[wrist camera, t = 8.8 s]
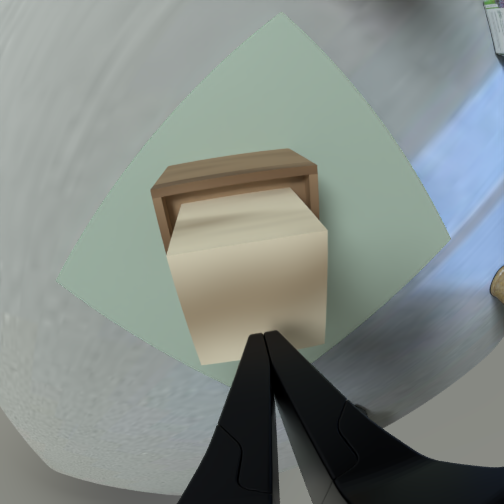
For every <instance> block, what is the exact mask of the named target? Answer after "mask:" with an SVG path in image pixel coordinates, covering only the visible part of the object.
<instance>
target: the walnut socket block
mask: <svg viewBox="0 0 504 504" xmlns="http://www.w3.org/2000/svg"><path fill="white" fill-rule="evenodd" d="M289 187H290V188H291V189H292V190H293V191H294V192H295V193H296V195H297V196H298V197H299V198H300V199H301V200H302V201H303V202H304V204H305V205H306V206H307V207H308V208H309V209H310V210H311V212H312V213H313V214H314V215H315V216H316V217H317V218H318V220H319V190H318V169H317V165H316V164H315V163H313V162H311V161H310V160H308V159H306V158H305V157H303V156H301V155H300V154H298V153H296V152H294V151H293V150H291V149H289V148H285V149H276V150H267V151H259V152H251V153H243V154H236V155H229V156H223V157H216V158H210V159H204V160H198V161H192V162H187V163H182V164H176V165H171V166H168V167H167V168H166V169H165V171H164V172H163V173H162V175H161V176H160V177H159V179H158V180H157V181H156V183H155V184H154V185H153V187H152V188H151V190H150V192H151V196H152V200H153V205H154V209H155V213H156V217H157V221H158V225H159V229H160V233H161V237H162V241H163V244H164V248H165V252H166V255H167V251H168V248H169V244H170V241H171V237H172V234H173V231H174V227H175V224H176V220H177V217H178V214H179V211H180V207H181V204H185V203H191V202H196V201H202V200H208V199H214V198H220V197H226V196H232V195H239V194H245V193H252V192H259V191H266V190H273V189H281V188H289Z"/></svg>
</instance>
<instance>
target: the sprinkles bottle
mask: <svg viewBox="0 0 504 504" xmlns="http://www.w3.org/2000/svg"><path fill="white" fill-rule="evenodd" d="M491 294H492V295H493V296H495V297H497V298H498V299H499V300H500V301H501V302H502V303H503V304H504V266H503V267H502V268H501V269H500V270H499V271H498V272H497V273H496V275H495V277H494V279H493V281H492V284H491Z"/></svg>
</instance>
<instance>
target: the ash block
mask: <svg viewBox="0 0 504 504" xmlns="http://www.w3.org/2000/svg"><path fill="white" fill-rule="evenodd" d="M166 257H167V261H168V264H169V268H170V271H171V275H172V278H173V281H174V285H175V288H176V291H177V295H178V298H179V301H180V304H181V307H182V310H183V313H184V317H185V320H186V323H187V326H188V329H189V332H190V334H191V337H192V340H193V343H194V346H195V349H196V352H197V354H198V357H199V360H200V363H201V365H208V364H216V363H223V362H230V361H237V360H241V357H242V354H243V351H244V348H245V345H246V342H247V339H248V337H249V335H250V334H255V333H263V335H264V332H267V331H273V330H277V331H279V332H280V333H281V334H282V335H283V336H284V337H285V338H286V339H287V340H288V341H289V342H290V343H291V344H292V345H293V346H294V347H295V348H296V349H297V350H299V349H303V348H308V347H313V346H317V345H322V344H325V328H326V306H327V269H328V230H327V229H326V228H325V227H324V225H323V224H322V223H321V222H320V221H319V220H318V218H317V217H316V216H315V215H314V214H313V213H312V212H311V210H310V209H309V208H308V207H307V206H306V205H305V204H304V202H303V201H302V200H301V199H300V198H299V197H298V196H297V195H296V193H295V192H294V191H293V190H292V189H291V188H290V187H289V188H281V189H273V190H266V191H259V192H252V193H245V194H239V195H232V196H226V197H220V198H214V199H208V200H202V201H196V202H191V203H185V204H181V207H180V211H179V214H178V217H177V220H176V224H175V227H174V231H173V234H172V237H171V241H170V244H169V248H168V251H167V255H166Z"/></svg>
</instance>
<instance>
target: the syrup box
mask: <svg viewBox="0 0 504 504" xmlns="http://www.w3.org/2000/svg"><path fill="white" fill-rule="evenodd" d="M484 7H485V11H486V14H487V18H488V22H489V25H490V29H491V34H492V38H493V42H494V47H495V52H496V54H498V55H501V56H504V0H487V1H484Z"/></svg>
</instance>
